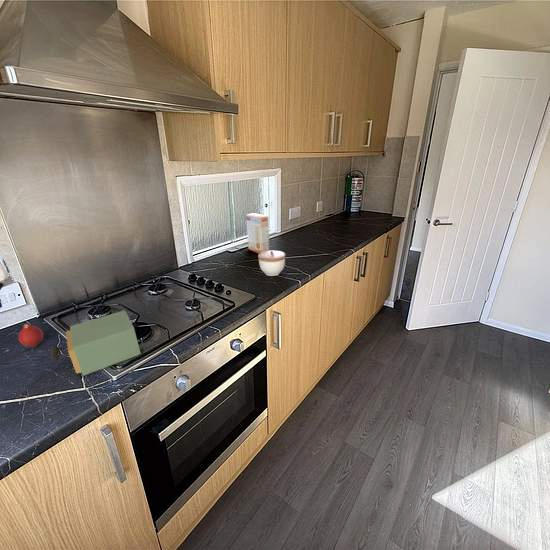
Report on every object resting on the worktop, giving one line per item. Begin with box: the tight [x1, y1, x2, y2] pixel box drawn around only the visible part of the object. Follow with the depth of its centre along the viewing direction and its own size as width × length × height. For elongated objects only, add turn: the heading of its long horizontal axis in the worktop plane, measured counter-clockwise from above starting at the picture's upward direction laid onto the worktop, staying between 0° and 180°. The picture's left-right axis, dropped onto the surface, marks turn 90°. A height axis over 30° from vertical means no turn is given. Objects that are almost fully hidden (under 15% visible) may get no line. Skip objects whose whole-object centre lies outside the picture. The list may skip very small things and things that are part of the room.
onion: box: [18, 324, 44, 348], centre depth 89 cm, size 6×6×8 cm
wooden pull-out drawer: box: [50, 330, 82, 375], centre depth 82 cm, size 18×11×7 cm, turn 126°
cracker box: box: [245, 212, 270, 255], centre depth 165 cm, size 14×6×21 cm, turn 37°
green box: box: [69, 310, 142, 377], centre depth 85 cm, size 15×13×9 cm
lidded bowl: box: [257, 250, 286, 277], centre depth 136 cm, size 13×13×11 cm
